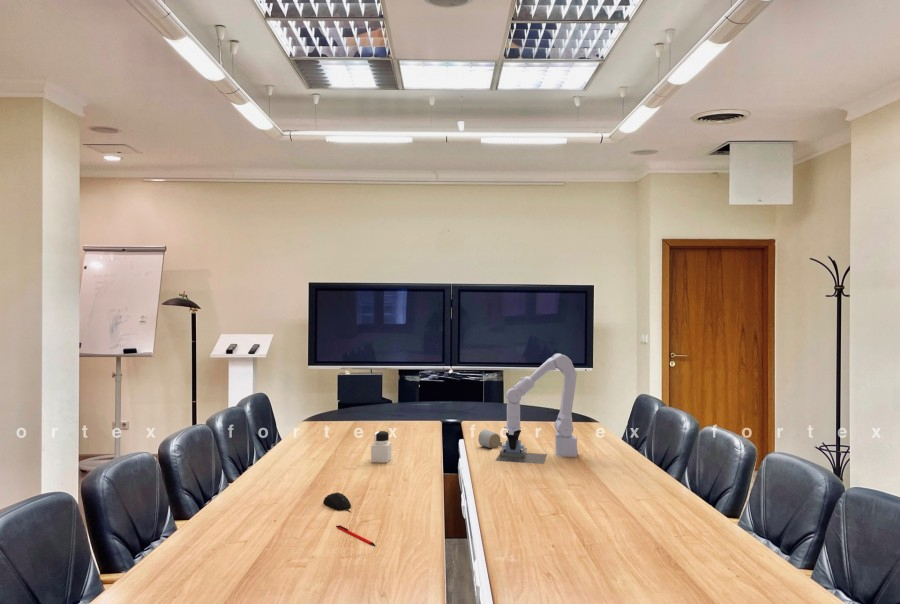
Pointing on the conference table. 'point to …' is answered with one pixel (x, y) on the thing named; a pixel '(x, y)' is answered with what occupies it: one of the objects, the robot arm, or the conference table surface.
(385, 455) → the medicine bottle
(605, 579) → the conference table surface
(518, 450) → the servo
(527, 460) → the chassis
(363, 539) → the pen
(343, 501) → the gaming mouse
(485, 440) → the ceramic mug
